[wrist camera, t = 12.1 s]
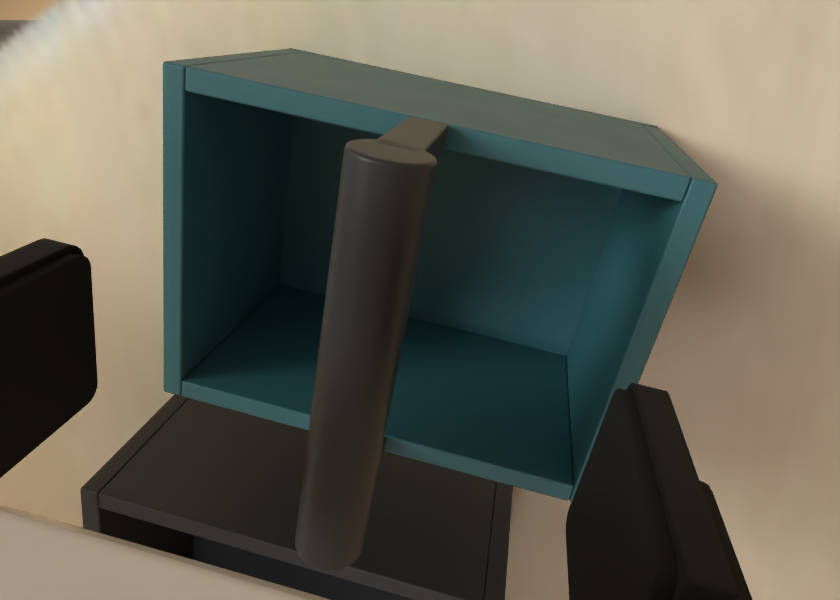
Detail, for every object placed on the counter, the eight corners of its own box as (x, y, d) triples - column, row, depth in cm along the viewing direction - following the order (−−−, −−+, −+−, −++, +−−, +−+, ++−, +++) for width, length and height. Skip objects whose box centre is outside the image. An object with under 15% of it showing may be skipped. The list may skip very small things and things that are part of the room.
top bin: (270, 288, 22) (56, 494, 13) (289, 48, 19) (12, 75, 9) (576, 364, 21) (602, 654, 12) (658, 126, 18) (794, 254, 8)
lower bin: (187, 556, 29) (95, 692, 23) (191, 376, 25) (79, 488, 19) (459, 636, 28) (436, 801, 22) (514, 463, 24) (504, 611, 18)
